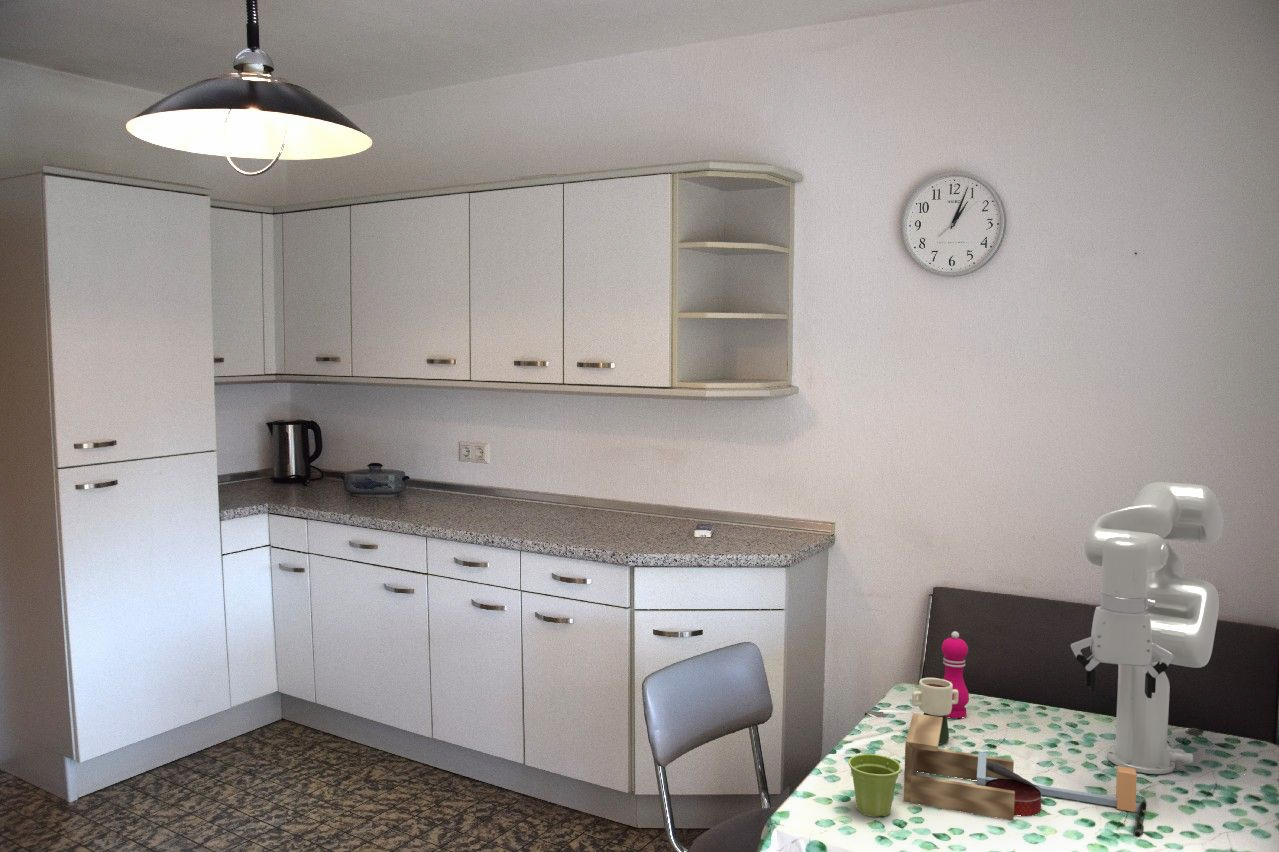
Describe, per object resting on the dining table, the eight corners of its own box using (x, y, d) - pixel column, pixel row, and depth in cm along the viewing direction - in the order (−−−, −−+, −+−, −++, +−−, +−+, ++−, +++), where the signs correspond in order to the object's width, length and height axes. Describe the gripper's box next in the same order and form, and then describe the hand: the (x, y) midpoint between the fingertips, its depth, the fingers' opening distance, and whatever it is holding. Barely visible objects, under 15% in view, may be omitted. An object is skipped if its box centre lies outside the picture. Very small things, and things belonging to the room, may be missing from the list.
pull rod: (1133, 805, 176) (1134, 768, 176) (1143, 838, 163) (1145, 798, 163) (977, 780, 186) (978, 745, 186) (975, 809, 173) (977, 772, 173)
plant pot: (890, 827, 166) (892, 779, 166) (839, 813, 171) (841, 766, 171) (906, 807, 174) (907, 761, 174) (856, 794, 179) (858, 749, 179)
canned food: (983, 821, 179) (971, 766, 184) (1036, 817, 179) (1024, 762, 183) (999, 818, 169) (987, 760, 173) (1056, 814, 169) (1042, 756, 173)
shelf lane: (1012, 785, 185) (1015, 727, 184) (1013, 820, 169) (1016, 758, 169) (911, 768, 192) (913, 713, 191) (903, 801, 176) (905, 741, 176)
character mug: (948, 733, 212) (950, 676, 211) (964, 745, 205) (967, 686, 204) (903, 735, 210) (905, 678, 209) (918, 748, 203) (920, 688, 202)
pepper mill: (970, 721, 219) (973, 636, 218) (938, 718, 221) (941, 634, 220) (966, 710, 227) (969, 628, 226) (934, 708, 228) (937, 626, 227)
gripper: (1171, 602, 177) (1167, 691, 178) (1070, 595, 183) (1067, 681, 184) (1179, 612, 170) (1175, 705, 171) (1074, 604, 176) (1071, 693, 177)
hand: (1119, 692), depth 178 cm, fingers open, 9 cm apart
